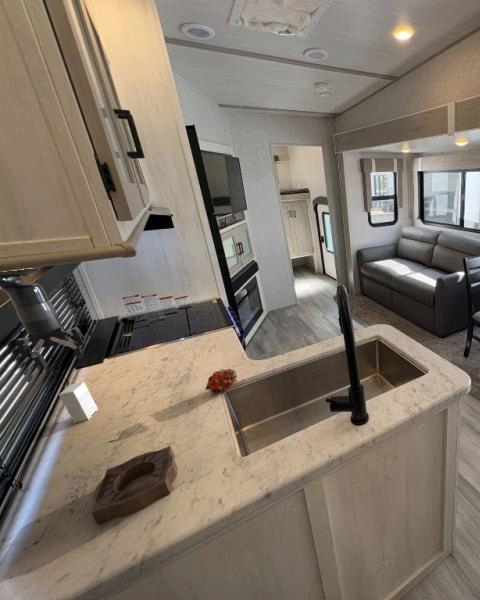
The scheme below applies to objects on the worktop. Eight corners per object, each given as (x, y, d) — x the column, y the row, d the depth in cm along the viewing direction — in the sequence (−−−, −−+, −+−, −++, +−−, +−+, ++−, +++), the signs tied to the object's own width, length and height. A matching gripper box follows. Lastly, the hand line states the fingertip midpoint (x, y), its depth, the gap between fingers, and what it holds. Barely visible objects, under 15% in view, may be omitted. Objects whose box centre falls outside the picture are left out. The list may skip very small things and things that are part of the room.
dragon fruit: (242, 383, 125) (213, 403, 116) (229, 369, 126) (199, 388, 118) (242, 374, 119) (211, 394, 110) (228, 359, 120) (197, 378, 112)
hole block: (91, 531, 70) (83, 519, 69) (108, 479, 83) (103, 468, 82) (174, 494, 77) (169, 483, 76) (179, 452, 90) (174, 442, 89)
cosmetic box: (84, 412, 111) (69, 384, 107) (98, 409, 112) (84, 381, 108) (73, 423, 106) (57, 394, 101) (88, 420, 107) (73, 391, 103)
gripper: (74, 307, 102) (94, 350, 107) (12, 318, 95) (36, 364, 101) (65, 314, 96) (87, 359, 101) (-2, 327, 89) (25, 374, 94)
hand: (62, 361), depth 101 cm, fingers open, 8 cm apart
